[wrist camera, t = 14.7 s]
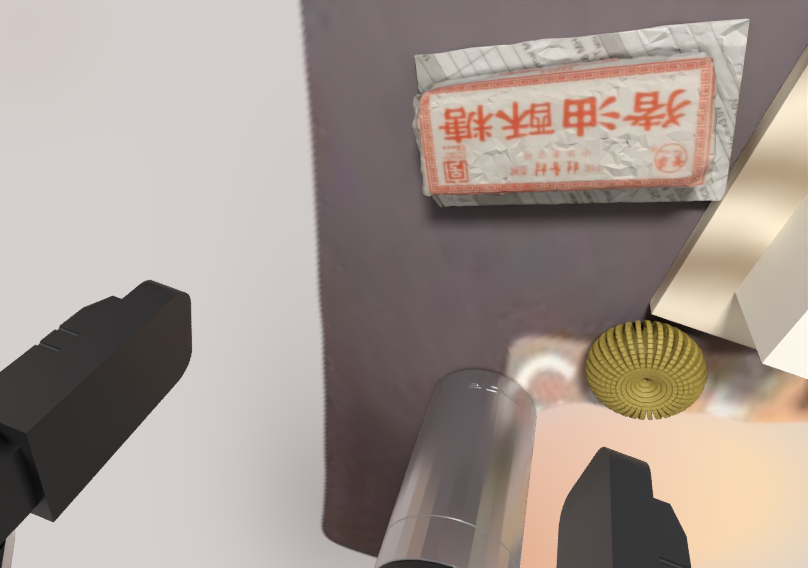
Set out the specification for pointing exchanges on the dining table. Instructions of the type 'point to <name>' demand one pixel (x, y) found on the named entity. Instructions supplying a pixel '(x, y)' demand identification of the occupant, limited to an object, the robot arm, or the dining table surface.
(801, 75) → the shelf board
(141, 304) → the robot arm
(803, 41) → the dining table surface
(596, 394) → the sculpture
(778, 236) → the carton
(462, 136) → the packaged product
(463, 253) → the dining table surface
